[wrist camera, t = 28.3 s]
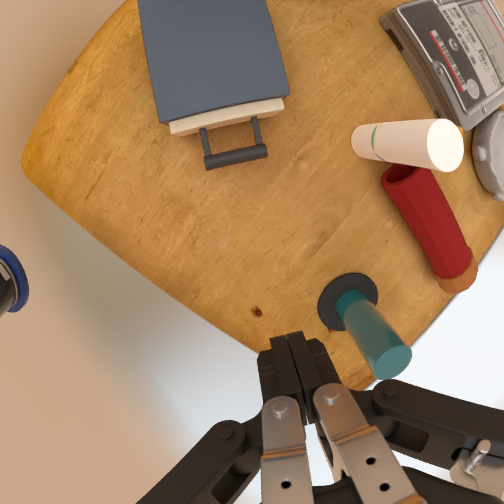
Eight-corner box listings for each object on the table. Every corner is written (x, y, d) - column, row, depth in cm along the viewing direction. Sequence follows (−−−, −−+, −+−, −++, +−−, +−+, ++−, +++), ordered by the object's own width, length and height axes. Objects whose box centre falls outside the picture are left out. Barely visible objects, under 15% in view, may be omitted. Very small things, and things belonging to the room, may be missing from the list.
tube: (370, 118, 31) (450, 110, 17) (387, 147, 32) (469, 156, 18) (344, 135, 32) (418, 133, 18) (362, 165, 33) (440, 181, 19)
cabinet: (276, 105, 30) (290, 94, 23) (174, 128, 30) (159, 122, 23) (249, 0, 25) (255, -31, 18) (153, 21, 25) (136, -6, 18)
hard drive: (516, 79, 28) (532, 78, 24) (443, 133, 32) (464, 134, 28) (468, -8, 22) (483, -14, 18) (376, 18, 26) (391, 7, 22)
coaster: (320, 335, 41) (321, 338, 40) (314, 281, 38) (315, 283, 37) (376, 319, 41) (377, 321, 40) (375, 265, 38) (377, 267, 37)
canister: (336, 323, 40) (371, 385, 27) (334, 294, 38) (374, 354, 26) (366, 314, 40) (409, 371, 27) (366, 285, 38) (414, 339, 26)
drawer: (282, 152, 31) (294, 153, 26) (189, 173, 31) (181, 178, 26) (249, 12, 25) (253, -11, 19) (159, 32, 25) (147, 12, 19)
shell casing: (432, 282, 40) (458, 303, 33) (371, 183, 34) (401, 193, 27) (459, 253, 39) (486, 270, 32) (405, 150, 33) (438, 154, 26)
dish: (498, 99, 30) (518, 99, 25) (518, 171, 35) (537, 176, 30) (454, 128, 32) (477, 129, 27) (479, 208, 36) (499, 216, 32)
